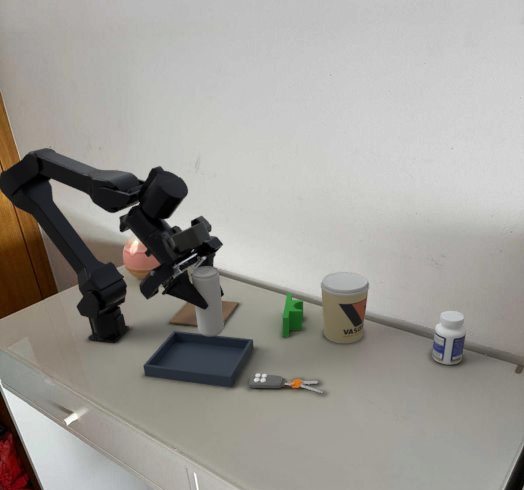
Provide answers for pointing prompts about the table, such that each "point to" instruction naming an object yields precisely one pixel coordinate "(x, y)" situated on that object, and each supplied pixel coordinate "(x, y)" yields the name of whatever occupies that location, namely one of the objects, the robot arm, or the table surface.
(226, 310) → the cork mat
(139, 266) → the vase
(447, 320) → the pill bottle
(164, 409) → the table surface
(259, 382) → the key chain
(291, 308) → the pipe clamp
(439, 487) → the table surface
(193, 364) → the tray
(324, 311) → the beige lidded tub
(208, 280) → the beverage can
